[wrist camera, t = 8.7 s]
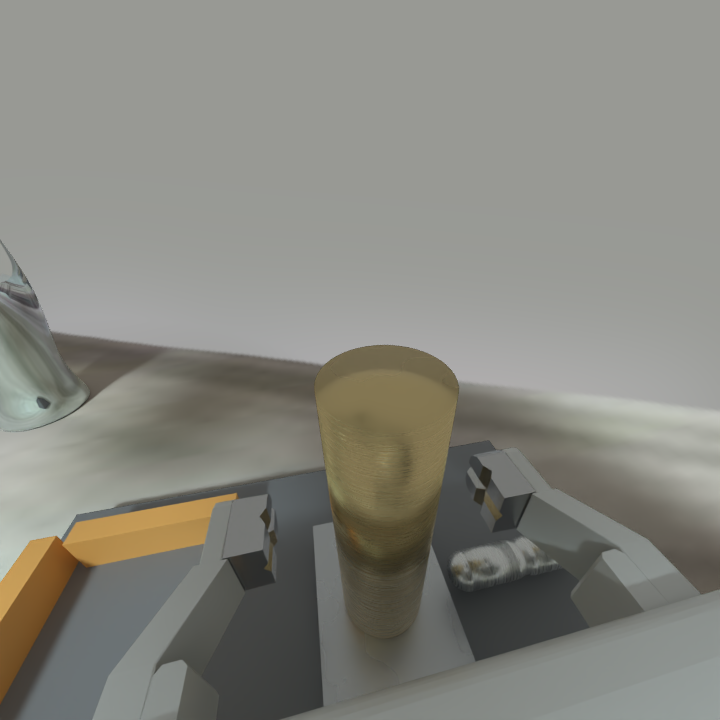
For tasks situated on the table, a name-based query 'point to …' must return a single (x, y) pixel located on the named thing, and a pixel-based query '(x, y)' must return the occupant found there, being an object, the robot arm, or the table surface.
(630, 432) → the table surface
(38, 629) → the rail board
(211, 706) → the robot arm
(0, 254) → the beer glass
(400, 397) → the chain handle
